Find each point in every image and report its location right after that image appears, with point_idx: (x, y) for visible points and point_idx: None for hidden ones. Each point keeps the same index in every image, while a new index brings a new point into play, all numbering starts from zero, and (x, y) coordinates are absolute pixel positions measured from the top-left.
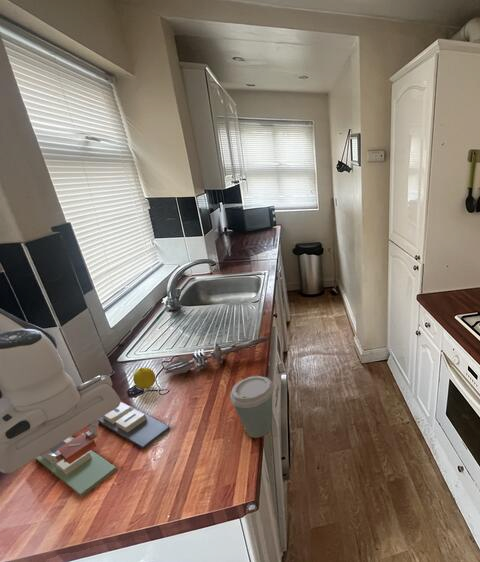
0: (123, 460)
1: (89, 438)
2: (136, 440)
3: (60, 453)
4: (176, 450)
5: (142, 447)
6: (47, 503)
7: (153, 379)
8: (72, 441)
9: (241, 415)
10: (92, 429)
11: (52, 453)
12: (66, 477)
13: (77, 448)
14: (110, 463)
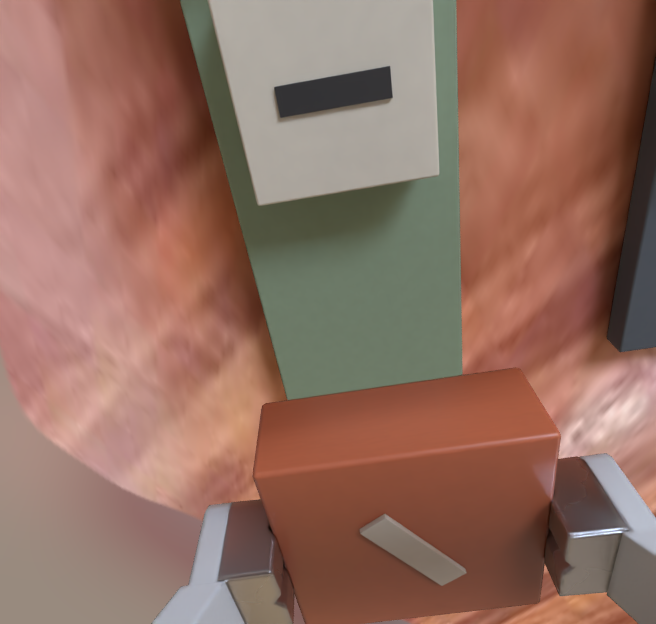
0: (508, 321)
1: (538, 560)
2: (651, 269)
3: (285, 620)
4: (653, 462)
5: (616, 346)
6: (153, 284)
7: None
8: (424, 489)
9: None
10: (649, 612)
11: (223, 599)
12: (257, 210)
13: (410, 597)
14: (461, 322)
